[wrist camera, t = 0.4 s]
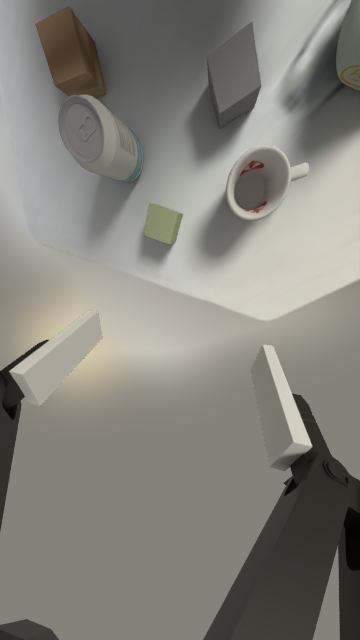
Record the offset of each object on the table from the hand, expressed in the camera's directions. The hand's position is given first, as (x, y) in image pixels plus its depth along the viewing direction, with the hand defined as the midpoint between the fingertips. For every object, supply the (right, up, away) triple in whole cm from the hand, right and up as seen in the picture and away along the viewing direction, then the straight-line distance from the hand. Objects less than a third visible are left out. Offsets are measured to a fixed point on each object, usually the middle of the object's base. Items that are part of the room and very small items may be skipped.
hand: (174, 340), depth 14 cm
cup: (+13, +23, +15) cm, 31 cm away
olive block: (-2, +20, +20) cm, 29 cm away
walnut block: (-14, +38, +12) cm, 43 cm away
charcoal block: (+8, +33, +11) cm, 36 cm away
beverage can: (-9, +30, +17) cm, 35 cm away
